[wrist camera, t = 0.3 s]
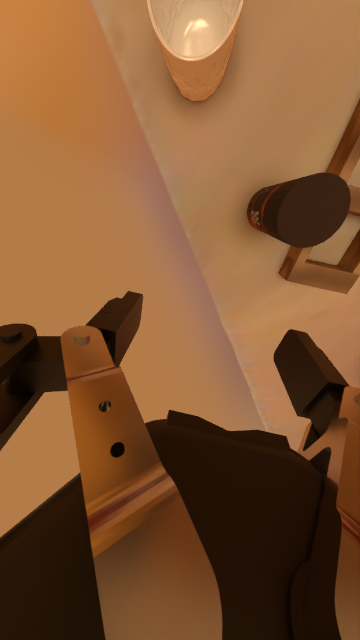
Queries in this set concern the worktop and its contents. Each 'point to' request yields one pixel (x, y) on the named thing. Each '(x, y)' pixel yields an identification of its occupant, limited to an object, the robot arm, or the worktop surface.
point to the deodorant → (301, 209)
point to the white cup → (196, 41)
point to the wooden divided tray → (356, 259)
